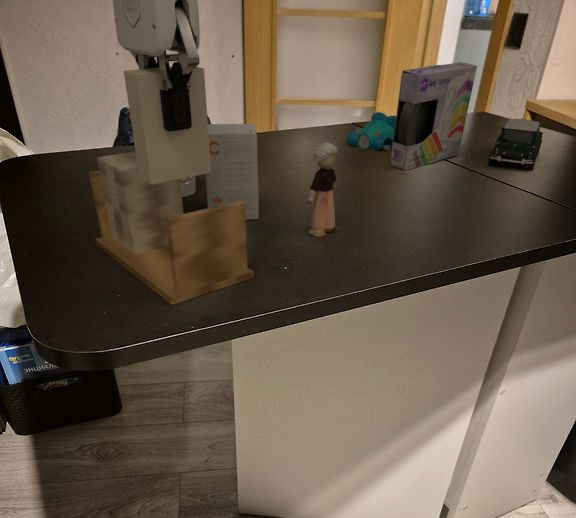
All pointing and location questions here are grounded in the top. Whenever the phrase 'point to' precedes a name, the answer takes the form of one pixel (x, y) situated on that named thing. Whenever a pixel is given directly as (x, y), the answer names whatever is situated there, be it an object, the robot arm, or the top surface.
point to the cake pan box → (431, 113)
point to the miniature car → (518, 142)
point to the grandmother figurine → (323, 191)
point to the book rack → (167, 233)
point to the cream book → (163, 144)
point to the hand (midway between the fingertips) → (169, 124)
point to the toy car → (375, 133)
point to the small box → (233, 167)
